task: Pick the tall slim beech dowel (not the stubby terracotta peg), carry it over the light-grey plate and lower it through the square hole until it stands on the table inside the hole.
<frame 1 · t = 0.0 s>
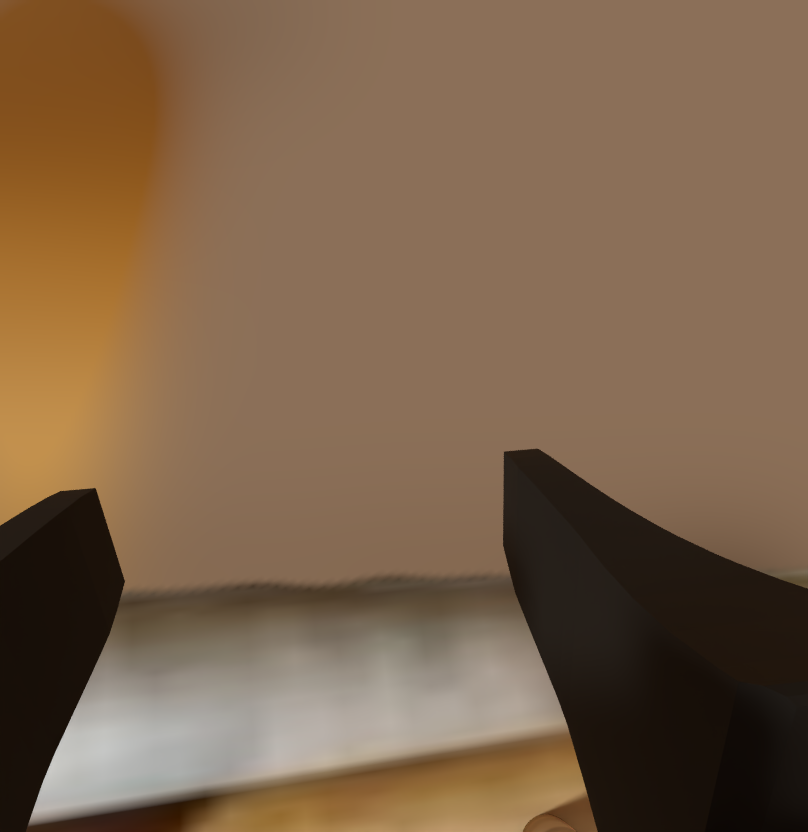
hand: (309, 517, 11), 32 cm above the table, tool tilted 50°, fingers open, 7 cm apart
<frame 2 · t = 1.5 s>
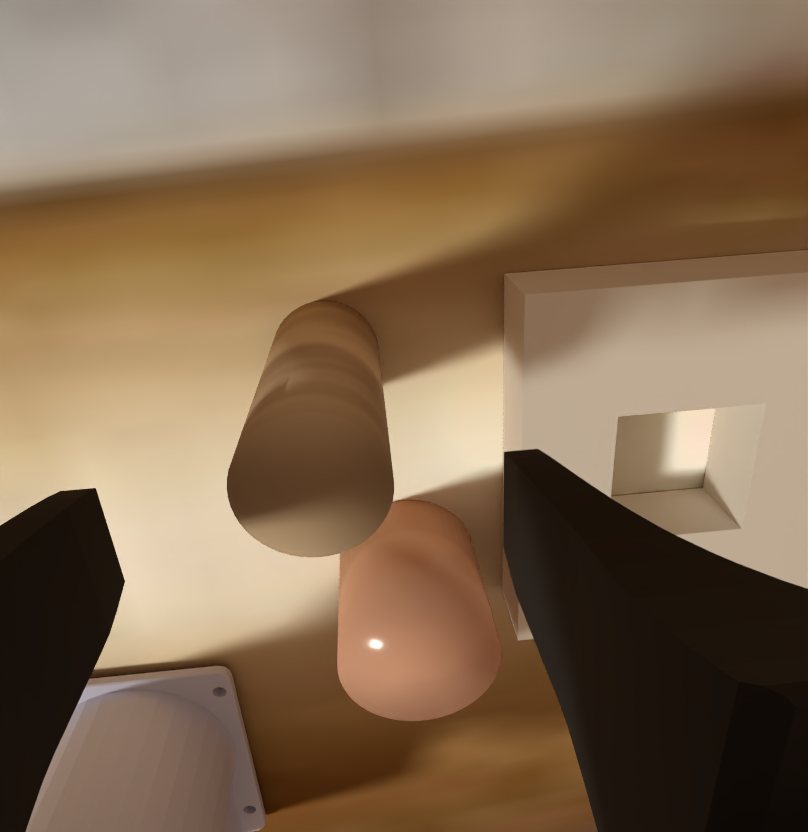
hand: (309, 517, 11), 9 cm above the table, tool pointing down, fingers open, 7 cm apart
beech pin: (326, 352, 20), on the table
hole plate: (648, 438, 22), on the table
terracotta peg: (406, 556, 23), on the table
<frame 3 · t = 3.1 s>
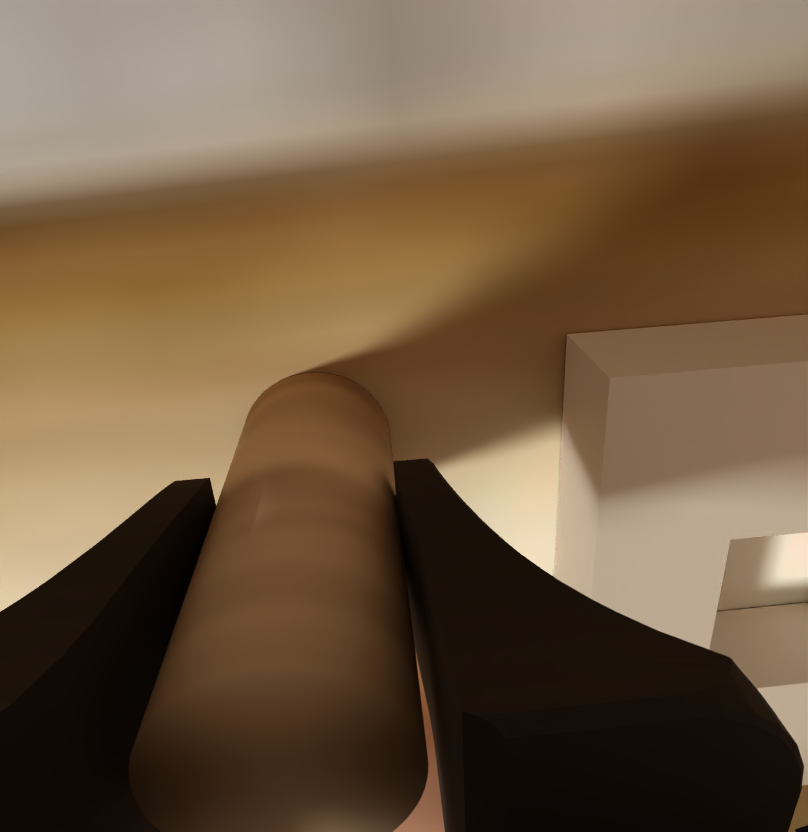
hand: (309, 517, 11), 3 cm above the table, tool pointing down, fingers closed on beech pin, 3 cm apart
beech pin: (317, 439, 14), on the table, touching gripper
hole plate: (748, 543, 16), on the table
terracotta peg: (424, 688, 18), on the table
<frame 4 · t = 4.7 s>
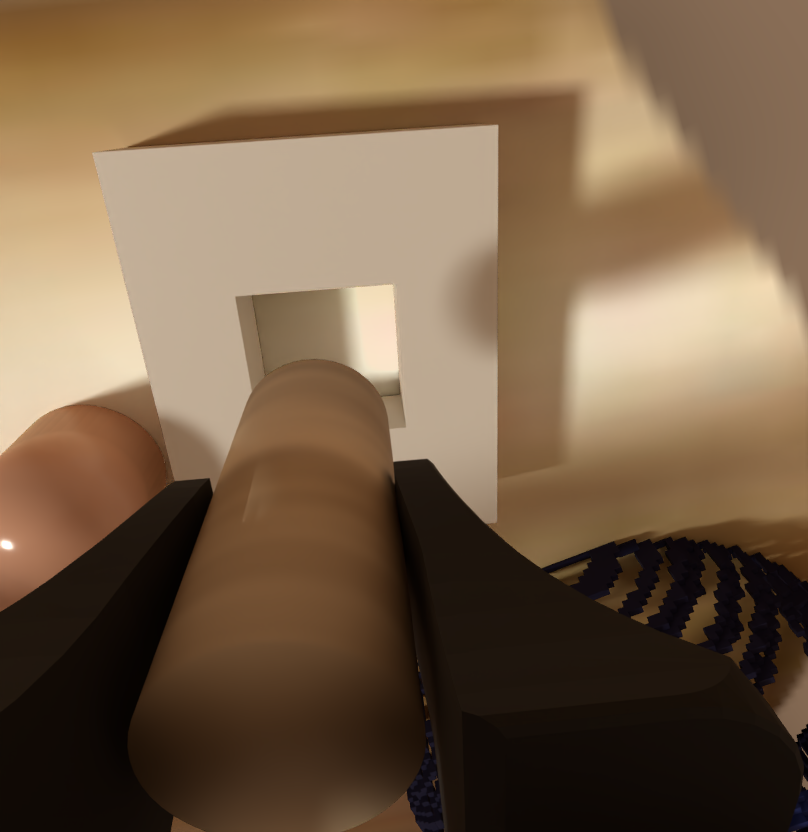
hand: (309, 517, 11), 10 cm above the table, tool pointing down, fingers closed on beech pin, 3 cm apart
beech pin: (316, 427, 14), point 7 cm above the table, touching gripper
hole plate: (328, 338, 21), on the table
decorative bowl: (618, 712, 30), on the table
terracotta peg: (94, 468, 22), on the table
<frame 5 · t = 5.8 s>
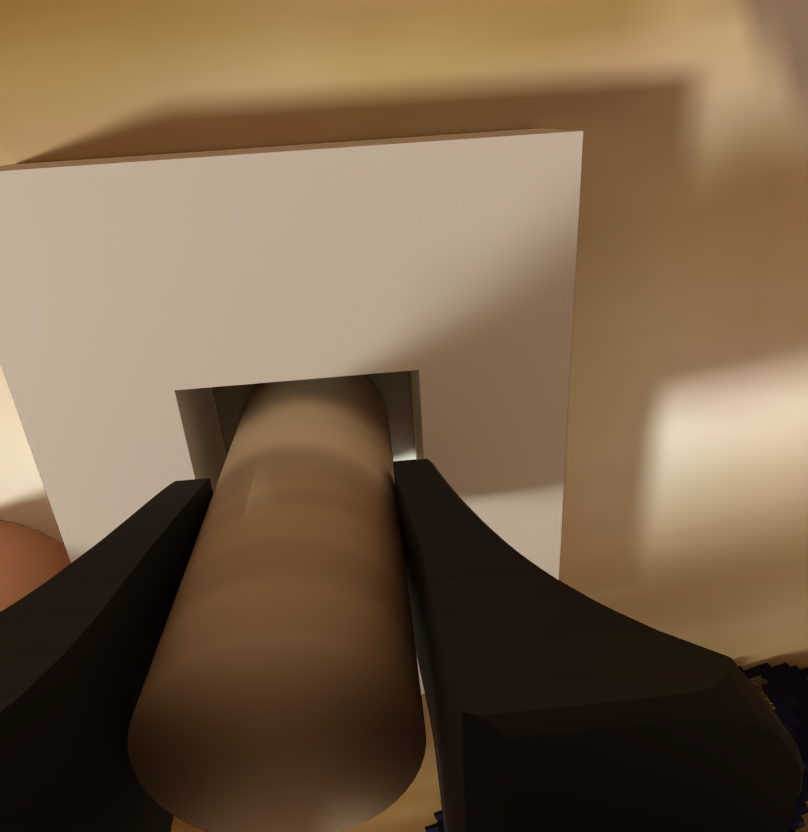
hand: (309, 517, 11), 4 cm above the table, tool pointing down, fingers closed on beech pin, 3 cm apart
beech pin: (316, 427, 14), resting in hole plate, touching gripper
hole plate: (318, 427, 15), on the table
terracotta peg: (0, 597, 16), on the table
when the fingers open (3 cm above the table, at t = 6.6 s): beech pin stays where it is, resting in hole plate.
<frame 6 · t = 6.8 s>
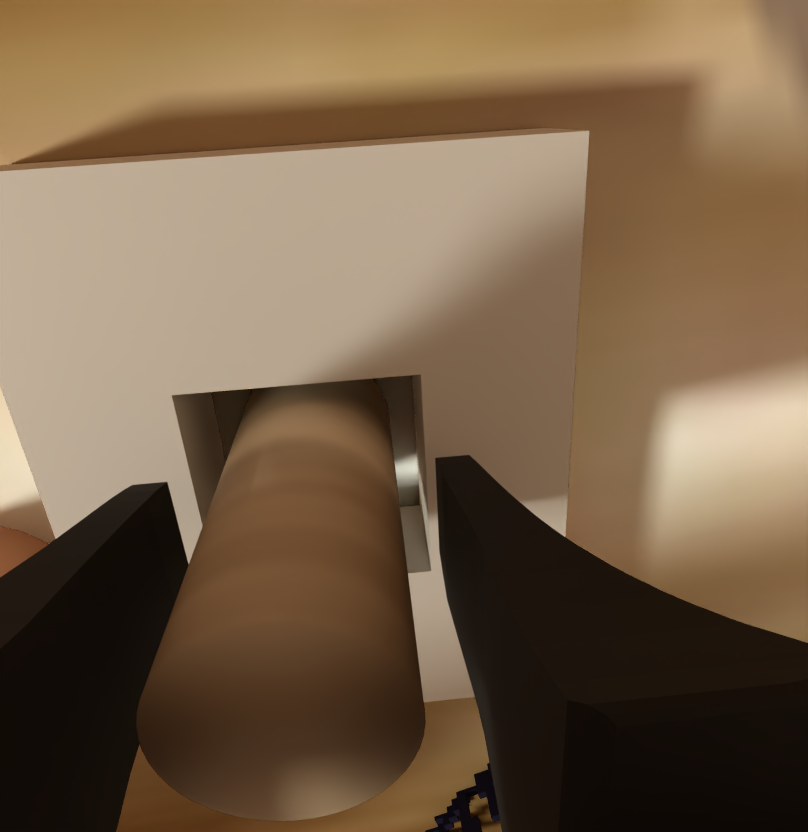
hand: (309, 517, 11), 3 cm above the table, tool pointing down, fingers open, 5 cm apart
beech pin: (318, 422, 14), resting in hole plate
hole plate: (318, 432, 14), on the table
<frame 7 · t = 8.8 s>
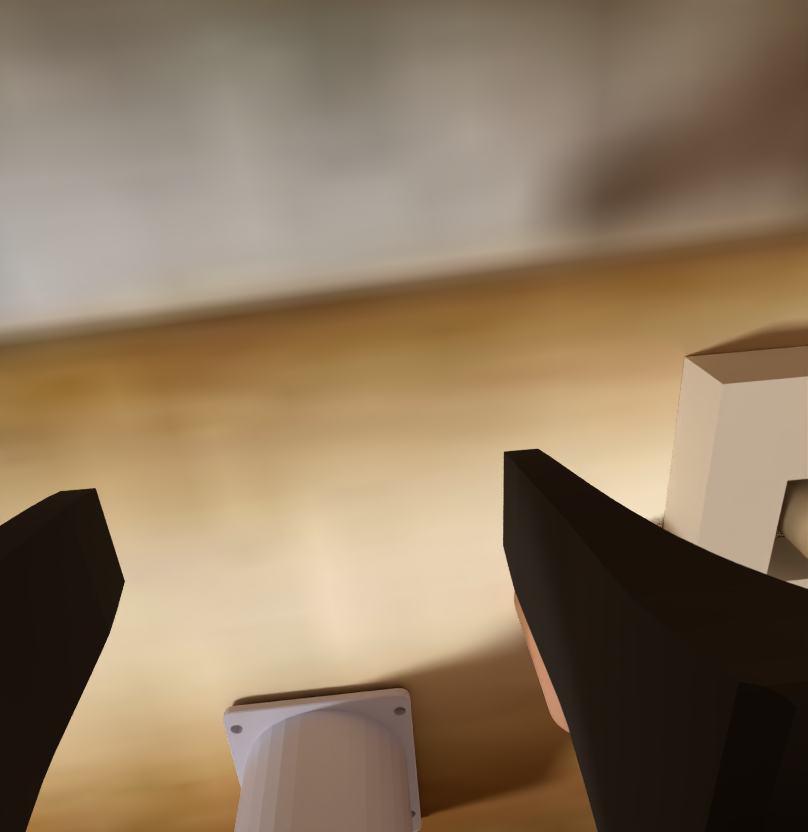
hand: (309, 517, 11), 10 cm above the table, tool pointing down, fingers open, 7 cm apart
beech pin: (793, 484, 25), resting in hole plate
hole plate: (792, 490, 25), on the table
terracotta peg: (571, 592, 26), on the table
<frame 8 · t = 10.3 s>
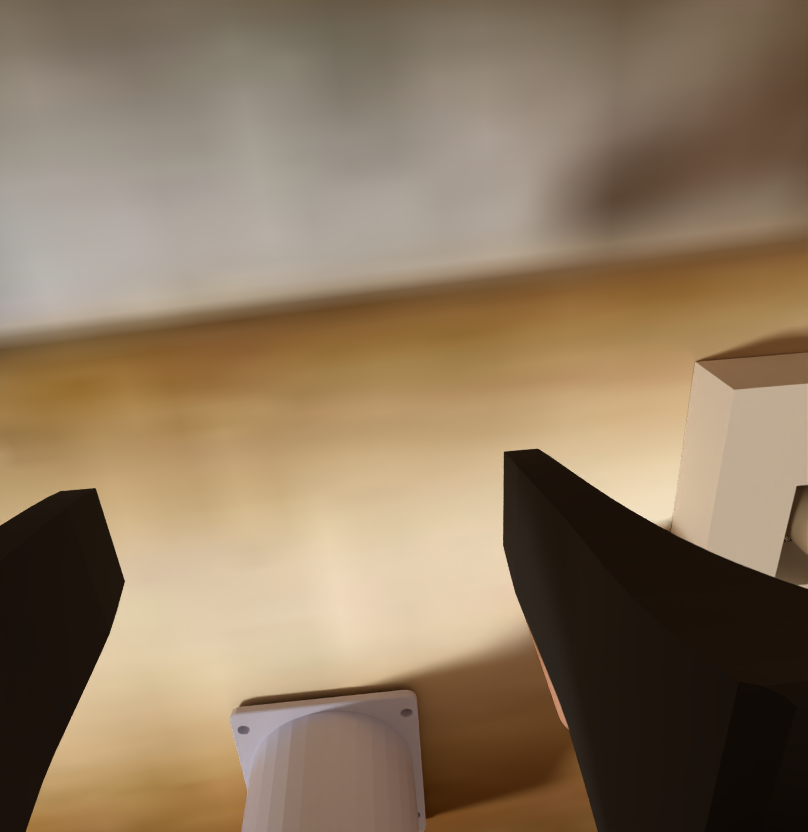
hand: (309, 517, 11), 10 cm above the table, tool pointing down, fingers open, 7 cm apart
beech pin: (800, 489, 25), resting in hole plate
hole plate: (799, 495, 25), on the table
terracotta peg: (578, 595, 26), on the table
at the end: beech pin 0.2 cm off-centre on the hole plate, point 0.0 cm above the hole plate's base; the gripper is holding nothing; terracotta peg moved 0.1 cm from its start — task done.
